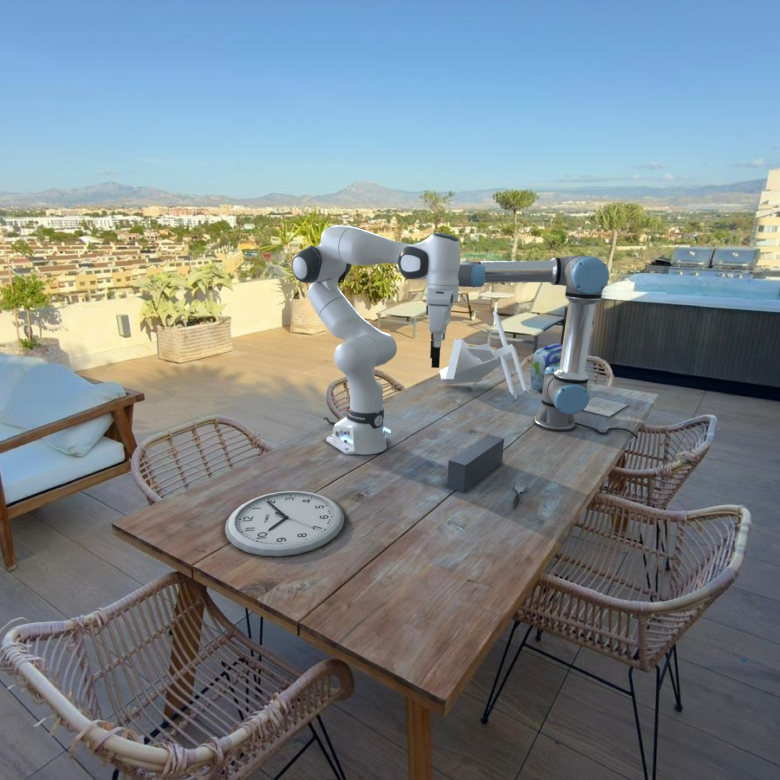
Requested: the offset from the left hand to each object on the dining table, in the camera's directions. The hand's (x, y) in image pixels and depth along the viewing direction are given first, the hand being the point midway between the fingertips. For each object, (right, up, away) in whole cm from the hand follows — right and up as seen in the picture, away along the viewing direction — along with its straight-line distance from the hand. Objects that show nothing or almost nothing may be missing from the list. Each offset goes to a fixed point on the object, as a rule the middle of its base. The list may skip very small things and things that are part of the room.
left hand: (439, 343), depth 149 cm
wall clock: (-41, -47, -15) cm, 64 cm away
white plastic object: (+28, -15, +94) cm, 99 cm away
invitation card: (+77, -21, +77) cm, 111 cm away
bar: (+13, -40, +13) cm, 44 cm away
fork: (+22, -44, 0) cm, 49 cm away
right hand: (+2, -4, +39) cm, 39 cm away
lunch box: (+63, -12, +103) cm, 121 cm away
